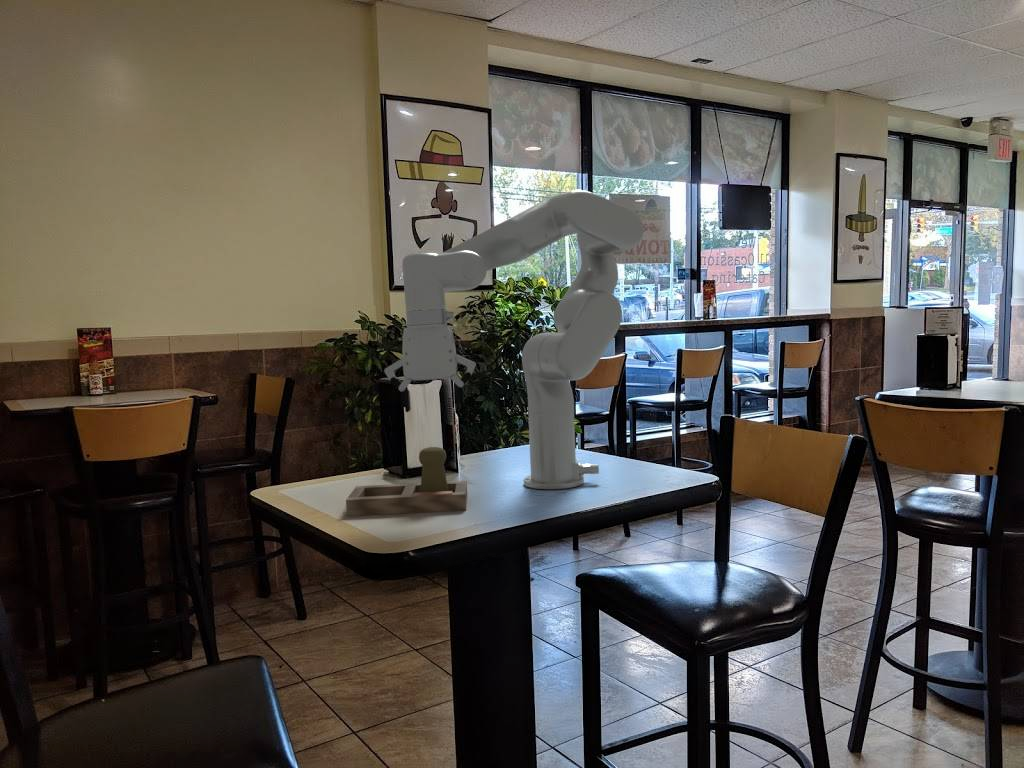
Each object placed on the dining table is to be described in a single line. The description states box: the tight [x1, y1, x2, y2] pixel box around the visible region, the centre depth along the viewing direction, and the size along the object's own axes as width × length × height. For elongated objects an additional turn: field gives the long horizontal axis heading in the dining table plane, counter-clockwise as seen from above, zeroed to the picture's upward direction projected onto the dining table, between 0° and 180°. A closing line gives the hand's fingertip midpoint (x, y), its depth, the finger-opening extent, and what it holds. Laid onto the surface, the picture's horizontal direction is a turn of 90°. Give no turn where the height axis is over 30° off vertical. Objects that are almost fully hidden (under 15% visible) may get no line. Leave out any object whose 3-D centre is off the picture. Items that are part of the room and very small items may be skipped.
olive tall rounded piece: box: [418, 446, 448, 493], centre depth 153 cm, size 6×6×11 cm
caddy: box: [345, 480, 468, 517], centre depth 153 cm, size 22×12×3 cm, turn 92°
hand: (433, 409), depth 152 cm, fingers open, 9 cm apart
